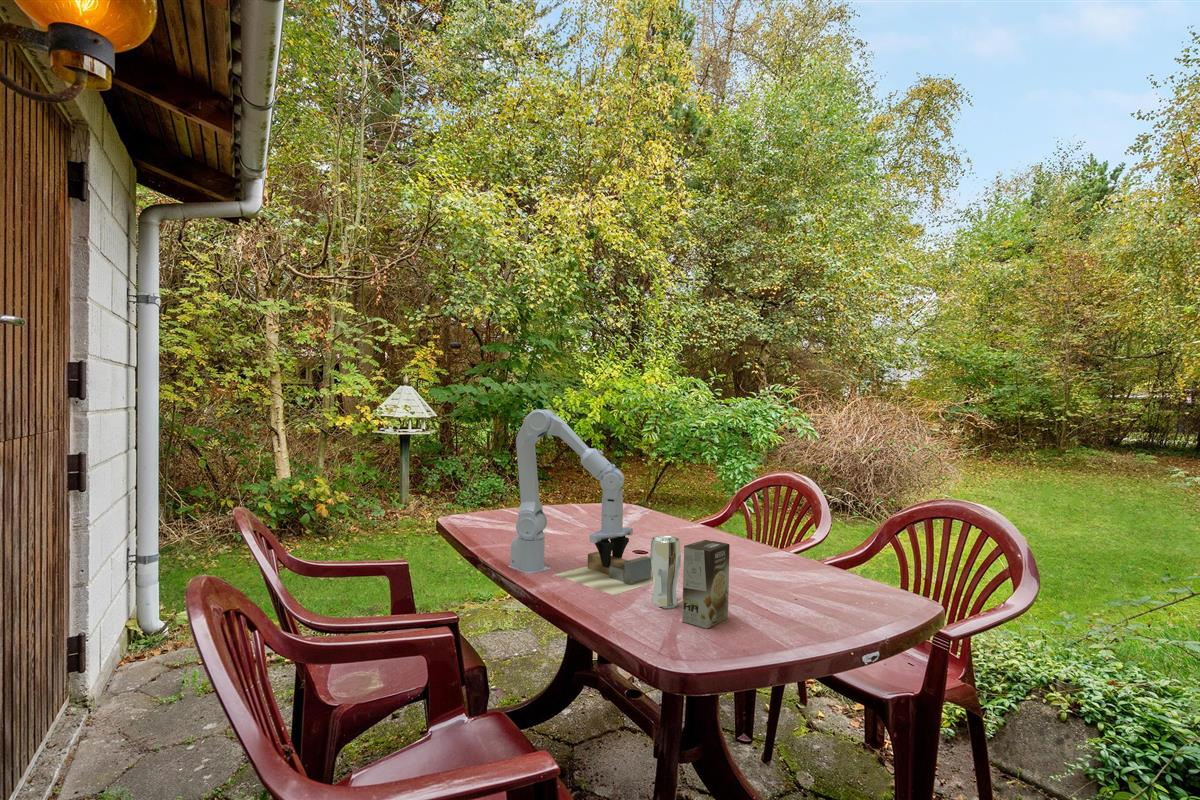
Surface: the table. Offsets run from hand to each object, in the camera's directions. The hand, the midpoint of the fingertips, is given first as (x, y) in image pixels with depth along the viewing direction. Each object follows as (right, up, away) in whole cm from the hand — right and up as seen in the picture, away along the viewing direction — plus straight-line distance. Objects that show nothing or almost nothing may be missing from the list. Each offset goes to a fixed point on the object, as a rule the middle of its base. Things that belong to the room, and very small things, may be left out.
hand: (611, 565), depth 156 cm
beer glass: (+12, -3, -22) cm, 25 cm away
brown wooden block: (0, -2, 0) cm, 2 cm away
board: (-1, -3, -4) cm, 5 cm away
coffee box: (+20, -3, -31) cm, 37 cm away
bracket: (+4, -2, -4) cm, 6 cm away
